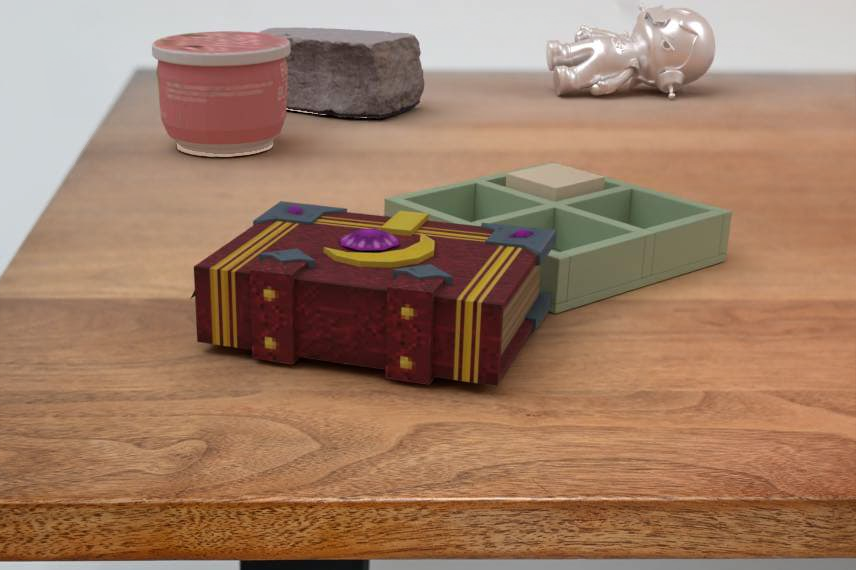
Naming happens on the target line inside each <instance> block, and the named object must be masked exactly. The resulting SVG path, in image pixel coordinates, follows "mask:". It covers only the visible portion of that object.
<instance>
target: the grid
mask: <svg viewBox="0 0 856 570" xmlns="http://www.w3.org/2000/svg"><path fill="white" fill-rule="evenodd" d="M552 163H556V164H558V162H555V161H550V162H545V163H540V164H535V165H531V166H530V165H529V166H526V167H523V168H522V167H521V168H517V169H512V170H508V171H502V172H499V173H493V174H489V175H484V176H480V177H476V178H471V179H467V180H461V181H458V182H453V183H448V184H444V185H439V186H435V187H430V188H425V189H420V190H416V191H412V192H407V193H402V194H398V195H397V194H396V195H392V196H388V197H384V205H383V206H384V209H383V210H384V212H383V216H388V217H393V216H394V215H395V214H396V213H398V212H399V211H408V212H417V213H427V214H429V220H428V221H436V222H446V223H455V224H465V225H474V226H481V224H482V223H492V224H502V225H512V226H523V227H533V228H544V229H554V230H557V232H556V244H555V245H554V247H553V248H552V249H551V251H550V252H549V254H548V255H547V257H546V258H545V259H544V261H543V262H542V264H541V270H540V285H539V293H548V294H552V301H551V308H550V310H549V311H548V313H552V314H554V315H556V314H560V313H562V312H563V313H564V312H566V311H570V310H572V309H576V308H579V307H582V306H584V305H588V304H592V303H595V302H597V301H602V300H604V299H607V298H611V297H615V296H617V295H620V294H621V295H622V294H623V293H627V292H630V291H633V290H636V289H640V288H643V287H646V286H649V285H653V284H656V283H659V282H663V281H666V280H669V279H672V278H675V277H679V276H682V275H685V274H688V273H691V272H695V271H698V270H701V269H704V268H707V267H710V266H714V265H717V264H720V263H724V262H726V261H727V254H728V253H727V252H728V246H729V239H730V230H731V222H732V215H733V210H729V209H725V208H722V207H718V206H715V205H711V204H708V203H707V204H706V203H704V202H700V201H696V200H692V199H690V198H685V197H681V196H678V195H674V194H670V193H667V192H663V191H660V190H656V189H653V188H649V187H645V186H642V185H638V184H634V183H630V182H626V181H623V180H619V179H616V178H612V177H608V176H605V175H603V176H604V177H605V180H604V190H602V191H598V192H594V193H590V194H586V195H581V196H577V197H573V198H569V199H565V200H561V201H557V202H554V201H550V200H547V199H544V198H540V197H537V196H534V195H531V194H527V193H524V192H521V191H517V190H514V189H511V188H508V187H506V174H507V173H510V172H515V171H520V170H524V169H529V168H533V167H538V166H543V165H547V164H552ZM559 164H560V163H559ZM560 165H562V164H560ZM563 165H564V164H563ZM564 166H567V167H569V166H568V165H564ZM570 167H571V168H573V167H572V166H570ZM574 168H575V167H574ZM575 169H578V170H580V169H579V168H575ZM581 170H582V169H581ZM582 171H584V170H582ZM585 171H586V170H585ZM586 172H589V173H591V172H590V171H588V170H587V171H586ZM592 173H593V172H592ZM593 174H595V173H593ZM596 174H597V173H596ZM597 175H600V176H602V175H601V174H597Z"/></svg>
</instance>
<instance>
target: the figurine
mask: <svg viewBox="0 0 856 570" xmlns="http://www.w3.org/2000/svg"><path fill="white" fill-rule="evenodd" d="M637 8H638V10H639V11H641V12H640V13H639V14H638V15H637V17H636V23H635V24H634V26H633V29H632V33H631V35H629V32H628V31H627V30H626V31H624V32H622V33H620V34H619V33H617V32H613V31H609V30H605V29H600V28H598V27H589V26H586V25H581V26H580V27H579V30H578V31H577V32H576V33H575V34H574V41H573V42H570V43H568V42H564V43H561V42H560V40H559V39H553V40H552V39H549V40H547V41H546V45H545V57H546V62H547V67H548V70H549V71H550V72H553V79H552V80H553V86H554V87H553V88H554V91H555V94H556V95H557V96H563V95H564V94H569V93H573V92H580V90H583V89H584V90H585V89H589V88H590V90H589V91H590V94H591V95H593V96H596V97H597V96H601V95H609V94H612V93H614V92H616V91H617V90H618V89H619V88H620V87H622V86H623V85H625V84H626V83H627V82H628V84H627V85H626V86H627V87H626V88H627V89H629V90H630V89H632V88H635V87H637V86H638V85H641V84H644V85H646V86H648V87H651V88H652V87H653V88H658V89H659V90H660V91H661V92H662V93H665V94H668V96H667V97H668V99H669V100H674V99H675V98H676V94H675V93H676V92H677V91H678V90H680V89H681V87H682V86H686V85H688V84H691V83H694V82H696V81H697V80H699V79H700V78H702V77H703V76H704V75H705V74H706V73H707V72H708V71H709V69H710V68H711V66H712V65H713V62H714V60H715V56H716V40H715V34H714V31H713V28H712V26H711V24H710V23H709V22H708V21H707V19H706V18H705V17H704V16H703V15H701V14H700V13H699V12H697V11H695V10H693V9H691V8H686V7H670V8H666V9H665V5H664V4H660V5H656V6H654V7H648V8H646V4H644V3H640V4H639V5H638V7H637Z"/></svg>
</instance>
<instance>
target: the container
mask: <svg viewBox="0 0 856 570" xmlns="http://www.w3.org/2000/svg"><path fill="white" fill-rule="evenodd" d="M290 52H291V47H290V41H289V40H288V39H286V38H284V37H281V36H278V35H273V34H266V33H259V32H256V31H255V32H253V31H239V30H237V31H236V30H235V31H233V30H231V31H230V30H229V31H228V30H227V31H226V30H224V31H222V30H221V31H219V30H218V31H200V32H199V31H198V32H188V33H181V34H174V35H168V36H165V37H161V38H158V39H156V40H155V41H153V42H152V43H151V55H152V57H153V58H154V59H155V60H157V66H156V80H157V90H158V91H157V92H158V101H159V102H158V103H159V110H160V120H161V122H162V125H163V127H164V129H165V132H166V133H167V135H168V136H169V137H170V138H171V139H172V140H173V141H175V143H176V142H177V143H178V144H179V145H180V146H181V147H183V148H185V149H188V150H192V151H196V152H197V151H198V152H205V153H213V154H235V153H244V152H252V151H257V150H261V149H264V148H267V147H269V146H270V145H272V143H273V144H274V139H275V138H276V137H278V136H279V134H280V133H281V132H282V129H283V126H284V124H285V121H286V118H287V111H286V106H287V74H288V69H287V64H286V59H285V57H287V56H288V55H289V54H290Z"/></svg>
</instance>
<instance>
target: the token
mask: <svg viewBox="0 0 856 570" xmlns="http://www.w3.org/2000/svg"><path fill="white" fill-rule="evenodd" d="M556 163H557V162H554V163H552V164H547V165H543V166H538V167H533V168H529V169H524V170H520V171H515V172H510V173H507V174H506V187H508V188H511V189H514V190H517V191H521V192H524V193H527V194H531V195H534V196H537V197H540V198H544V199H547V200H550V201H554V202H557V201H561V200H565V199H569V198H573V197H577V196H581V195H586V194H590V193H594V192H598V191H602V190H604V180H605V177H606V176H605V175H601V174H598V175H597V173H594V174H593V172H590V171H587V172H586V170H583V171H582V169H579V168H576V169H575V167H572V166H568V165H565V166H564V164H561V165H560V163H557V164H556ZM567 166H568V167H567ZM571 167H572V168H571ZM578 169H579V170H578ZM589 172H590V173H589ZM600 175H601V176H600ZM604 176H605V177H604Z"/></svg>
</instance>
